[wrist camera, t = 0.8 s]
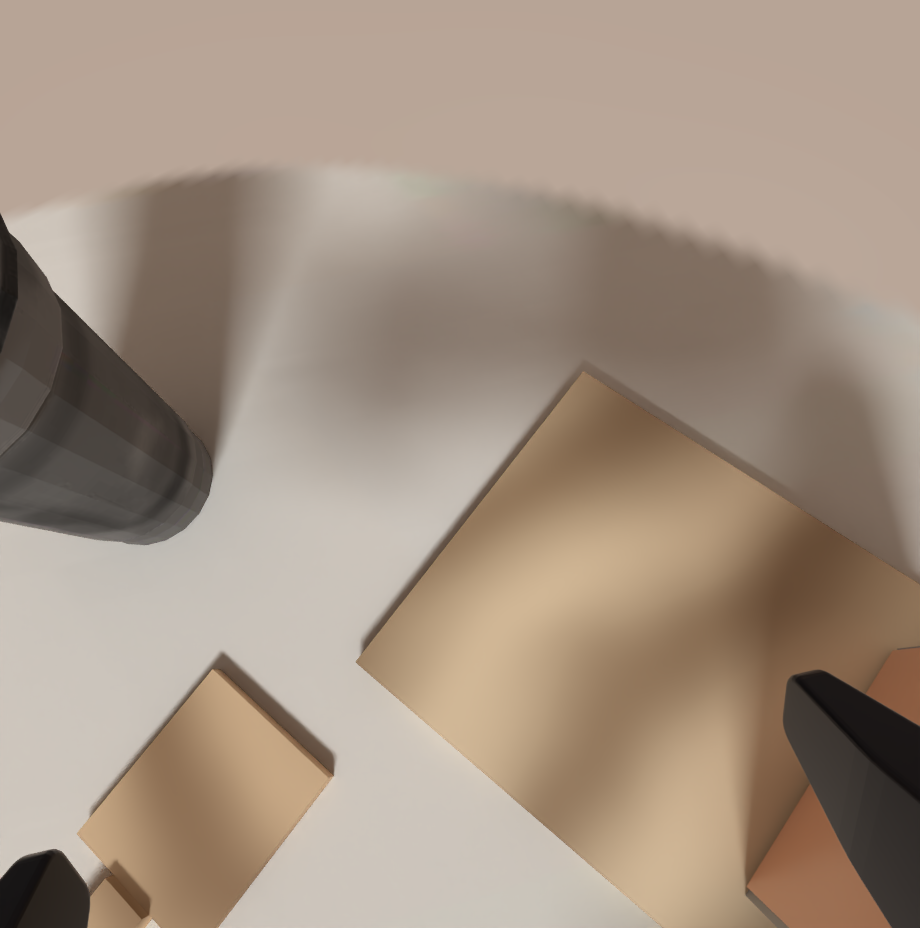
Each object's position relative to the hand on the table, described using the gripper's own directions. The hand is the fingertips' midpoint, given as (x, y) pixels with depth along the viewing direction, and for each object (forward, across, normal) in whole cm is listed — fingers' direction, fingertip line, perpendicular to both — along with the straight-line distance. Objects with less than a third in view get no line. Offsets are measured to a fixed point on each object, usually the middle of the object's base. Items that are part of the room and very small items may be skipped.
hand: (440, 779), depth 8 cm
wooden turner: (+7, +11, +13) cm, 18 cm away
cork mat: (+8, -7, +9) cm, 14 cm away
